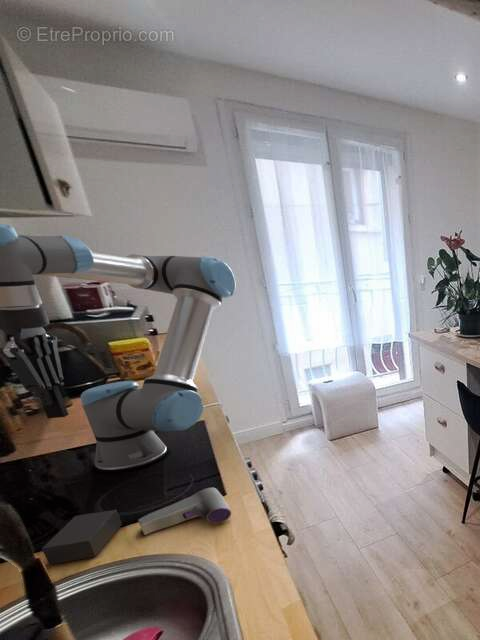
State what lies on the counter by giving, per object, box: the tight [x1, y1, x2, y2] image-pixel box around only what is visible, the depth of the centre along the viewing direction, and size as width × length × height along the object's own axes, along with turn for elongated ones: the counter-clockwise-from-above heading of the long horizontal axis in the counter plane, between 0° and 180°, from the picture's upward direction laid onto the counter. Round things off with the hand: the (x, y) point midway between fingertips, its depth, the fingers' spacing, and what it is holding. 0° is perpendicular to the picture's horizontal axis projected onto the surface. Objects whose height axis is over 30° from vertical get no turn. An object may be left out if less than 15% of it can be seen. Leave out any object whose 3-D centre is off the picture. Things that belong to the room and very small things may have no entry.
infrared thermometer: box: [137, 487, 232, 536], centre depth 94 cm, size 5×12×15 cm
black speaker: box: [41, 509, 123, 566], centre depth 86 cm, size 4×7×11 cm
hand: (58, 416), depth 89 cm, fingers closed
